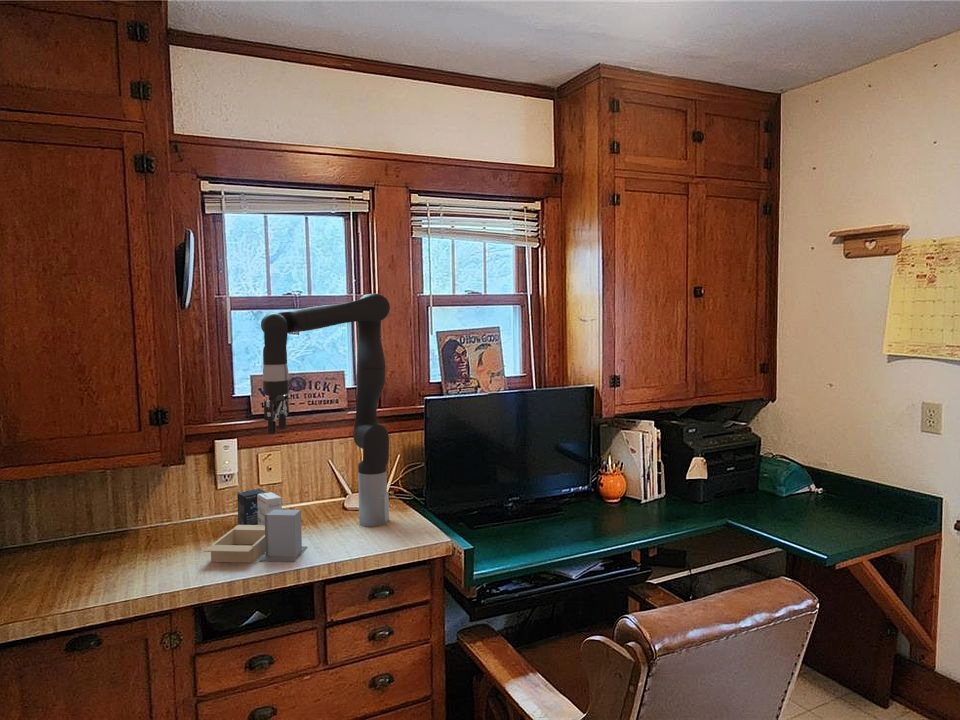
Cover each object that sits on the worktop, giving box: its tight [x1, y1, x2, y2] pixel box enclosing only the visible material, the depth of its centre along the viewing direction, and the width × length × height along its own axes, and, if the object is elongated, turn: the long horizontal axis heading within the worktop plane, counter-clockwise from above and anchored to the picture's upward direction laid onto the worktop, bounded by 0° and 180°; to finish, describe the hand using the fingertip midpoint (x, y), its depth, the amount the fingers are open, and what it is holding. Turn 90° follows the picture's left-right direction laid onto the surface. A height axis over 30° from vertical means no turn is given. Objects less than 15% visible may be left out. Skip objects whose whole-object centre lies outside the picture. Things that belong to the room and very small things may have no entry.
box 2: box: [264, 509, 303, 557], centre depth 189 cm, size 9×5×12 cm, turn 86°
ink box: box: [257, 492, 283, 525], centre depth 209 cm, size 8×5×12 cm, turn 39°
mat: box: [259, 545, 308, 563], centre depth 190 cm, size 10×11×1 cm
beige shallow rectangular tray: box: [203, 524, 266, 563], centre depth 192 cm, size 13×22×4 cm, turn 176°
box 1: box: [236, 488, 268, 525], centre depth 218 cm, size 8×6×11 cm
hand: (277, 431), depth 203 cm, fingers open, 8 cm apart
